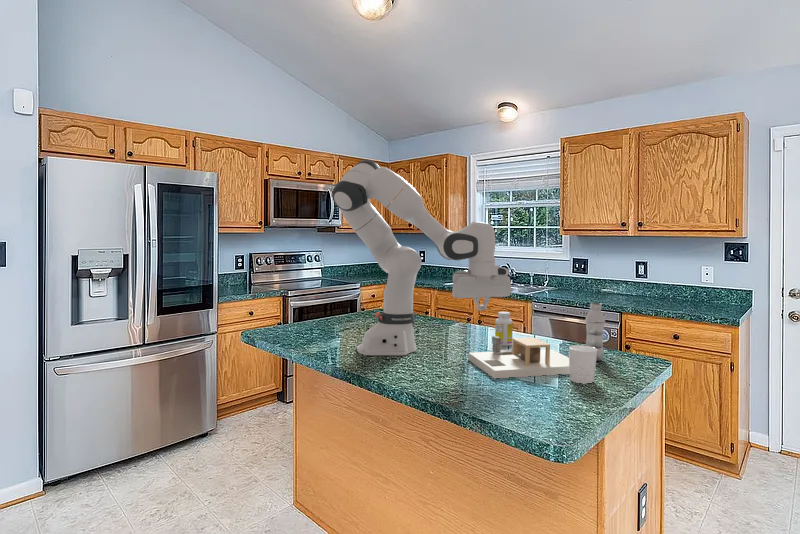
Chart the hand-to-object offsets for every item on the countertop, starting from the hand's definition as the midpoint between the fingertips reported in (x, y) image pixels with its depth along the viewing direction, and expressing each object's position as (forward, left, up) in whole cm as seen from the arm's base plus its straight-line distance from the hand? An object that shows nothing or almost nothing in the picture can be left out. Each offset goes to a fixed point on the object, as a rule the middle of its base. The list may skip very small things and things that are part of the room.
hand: (481, 310), depth 162 cm
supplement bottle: (+19, +22, -18) cm, 34 cm away
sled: (+10, -6, -15) cm, 19 cm away
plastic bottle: (+40, -6, -18) cm, 44 cm away
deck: (+12, -8, -18) cm, 23 cm away
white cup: (+22, -26, -18) cm, 38 cm away
